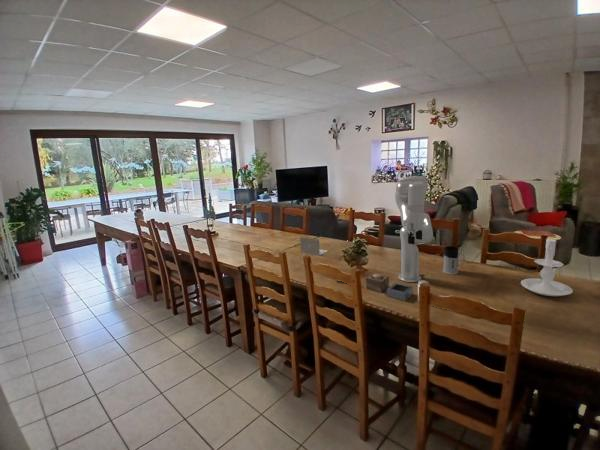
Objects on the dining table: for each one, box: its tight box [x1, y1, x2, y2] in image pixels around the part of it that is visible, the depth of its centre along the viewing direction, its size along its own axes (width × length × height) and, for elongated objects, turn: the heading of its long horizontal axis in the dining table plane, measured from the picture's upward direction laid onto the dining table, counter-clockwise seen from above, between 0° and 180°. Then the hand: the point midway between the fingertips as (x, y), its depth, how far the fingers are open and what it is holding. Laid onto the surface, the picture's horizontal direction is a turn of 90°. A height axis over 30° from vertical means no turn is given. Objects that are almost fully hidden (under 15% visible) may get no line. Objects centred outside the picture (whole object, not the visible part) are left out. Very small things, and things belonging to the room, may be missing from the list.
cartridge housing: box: [386, 282, 414, 302], centre depth 163 cm, size 10×10×4 cm
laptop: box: [299, 236, 329, 256], centre depth 244 cm, size 18×12×13 cm
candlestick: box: [520, 238, 574, 297], centre depth 156 cm, size 21×25×28 cm
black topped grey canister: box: [442, 245, 466, 275], centre depth 186 cm, size 9×14×15 cm, turn 18°
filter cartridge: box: [417, 279, 430, 302], centre depth 154 cm, size 5×5×10 cm
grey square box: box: [365, 273, 390, 293], centre depth 173 cm, size 9×9×6 cm
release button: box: [373, 273, 383, 280], centre depth 173 cm, size 5×5×6 cm
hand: (415, 241), depth 158 cm, fingers open, 9 cm apart
